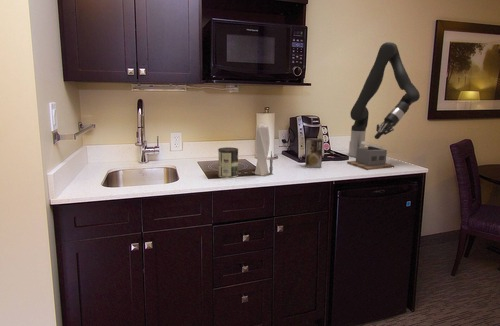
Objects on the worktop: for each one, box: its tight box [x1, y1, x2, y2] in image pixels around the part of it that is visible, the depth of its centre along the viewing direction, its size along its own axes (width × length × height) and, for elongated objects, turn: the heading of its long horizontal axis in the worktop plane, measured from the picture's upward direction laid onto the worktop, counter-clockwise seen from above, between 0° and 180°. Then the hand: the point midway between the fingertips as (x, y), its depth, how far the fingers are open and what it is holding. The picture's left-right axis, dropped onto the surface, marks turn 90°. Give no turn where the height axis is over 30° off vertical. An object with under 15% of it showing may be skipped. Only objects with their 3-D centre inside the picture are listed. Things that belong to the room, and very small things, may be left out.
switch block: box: [355, 146, 388, 166], centre depth 217 cm, size 12×12×10 cm
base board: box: [346, 160, 396, 171], centre depth 218 cm, size 18×20×1 cm
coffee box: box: [304, 137, 323, 168], centre depth 212 cm, size 9×6×16 cm
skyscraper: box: [254, 121, 274, 178], centre depth 191 cm, size 8×8×28 cm
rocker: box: [361, 140, 384, 149], centre depth 216 cm, size 6×11×2 cm, turn 112°
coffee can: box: [217, 146, 239, 179], centre depth 188 cm, size 10×10×14 cm
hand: (375, 138), depth 216 cm, fingers closed
